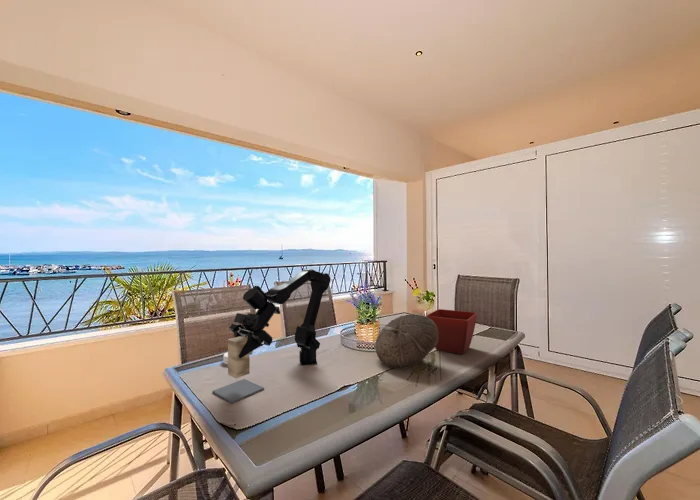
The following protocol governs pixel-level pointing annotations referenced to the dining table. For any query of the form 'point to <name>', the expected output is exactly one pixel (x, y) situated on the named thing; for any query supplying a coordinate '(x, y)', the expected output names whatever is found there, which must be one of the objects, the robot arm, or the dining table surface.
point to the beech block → (237, 358)
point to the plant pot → (454, 329)
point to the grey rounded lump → (406, 341)
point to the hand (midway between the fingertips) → (235, 355)
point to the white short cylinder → (225, 358)
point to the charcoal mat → (238, 390)
